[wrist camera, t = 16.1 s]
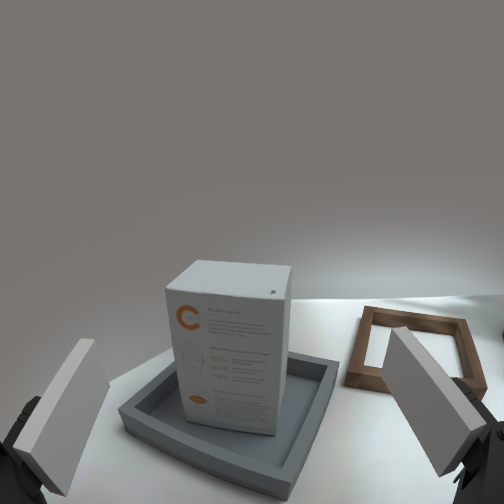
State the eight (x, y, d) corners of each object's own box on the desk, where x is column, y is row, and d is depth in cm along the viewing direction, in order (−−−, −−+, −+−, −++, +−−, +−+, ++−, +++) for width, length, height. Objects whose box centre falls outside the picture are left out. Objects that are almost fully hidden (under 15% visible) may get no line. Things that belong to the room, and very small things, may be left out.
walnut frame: (461, 331, 37) (465, 319, 37) (480, 402, 23) (487, 388, 23) (362, 317, 44) (364, 305, 43) (344, 385, 30) (347, 371, 29)
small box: (285, 390, 28) (294, 264, 25) (276, 437, 22) (286, 299, 19) (205, 379, 30) (196, 257, 26) (183, 421, 24) (162, 287, 20)
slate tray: (335, 383, 30) (339, 361, 29) (287, 500, 17) (291, 482, 16) (210, 352, 36) (208, 331, 35) (126, 431, 23) (117, 408, 22)
